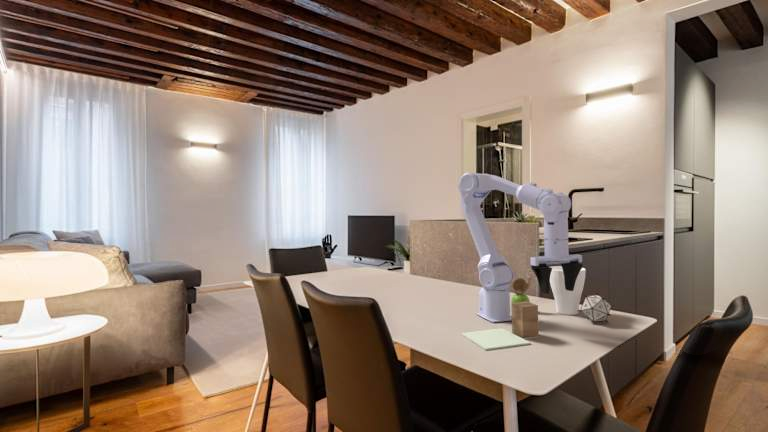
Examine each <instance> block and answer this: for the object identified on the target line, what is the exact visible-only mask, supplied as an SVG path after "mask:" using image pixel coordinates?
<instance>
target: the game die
mask: <svg viewBox="0 0 768 432" xmlns="http://www.w3.org/2000/svg"><path fill="white" fill-rule="evenodd" d="M583 296H584V300H582V301H581V303H582V305H581V307H580V309H579V310H578V312H581V313H582V314H583V315H584V316H586V319H587V320H590V321H592V325H595V324H596V322H601V321H602V322H603V321H605V322H606V323H609V321H608V320H607V319H608V317H609V316H610V317H611V316H612V315H611V314H610V311H611V309H612V307H615V305H614V304H611V303H609V302H608V300H606V296H600V293H599V292H597V293H596V294H595V295H594V294H593V295H587V294H585V293H584V294H583Z"/></svg>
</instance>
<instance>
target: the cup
mask: <svg viewBox="0 0 768 432" xmlns="http://www.w3.org/2000/svg"><path fill="white" fill-rule="evenodd" d="M550 267H551V268H552V271H551V275H550V282H549V285H550V288H551V290H552V294H553V297H554V298H553V299H554V303H555V309H556V312H557V313H558V314H561V315H566V316H567V315H568V316H576V315H578V314H579V312H578V310H580V303H581V297H582V293H583V290H584V285H585V281H586V272H587V271H586V270H587V269H586V268H584V267H583V268H582V269H581V270H580V272H579V274H578V276H577V279H576V282H575V286H574V290H573V291H569V290H566V289H565V281H564V273H563V269H562V266H561V265H555V266H550Z"/></svg>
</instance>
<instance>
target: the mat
mask: <svg viewBox="0 0 768 432" xmlns="http://www.w3.org/2000/svg"><path fill="white" fill-rule="evenodd" d="M460 334H461V336H463V337H465V338H466V339H467V340H469V341H470V342H472V343H473V344H475V346H478V347H479V348H481V349H483V350H484V351H490V350H491V351H493V350H497V349H498V350H499V349H500V350H501V349H505V348H506V349H507V348H512V347H521V346H527V345H531V344H532V343H531V342H530V341H528V340H527V339H522V338H520V337H518V336H516V335H515V334H513V333H512V332H511V331H509V330H507V329H504V328H502V327H501V328H493V329H485V330H477V331H470V332H469V331H468V332H461V333H460Z"/></svg>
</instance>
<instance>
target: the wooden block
mask: <svg viewBox="0 0 768 432" xmlns="http://www.w3.org/2000/svg"><path fill="white" fill-rule="evenodd" d="M510 306H511V316H512V320H511V331H512V332H511V333H513V334H515V335H516V336H518V337H520V338H522V339H524V340H527V339H535V338H539V305H538V304H536V303H532V302H531V301H530V302H527V301H526V302H516V303H512V302H510Z"/></svg>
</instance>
